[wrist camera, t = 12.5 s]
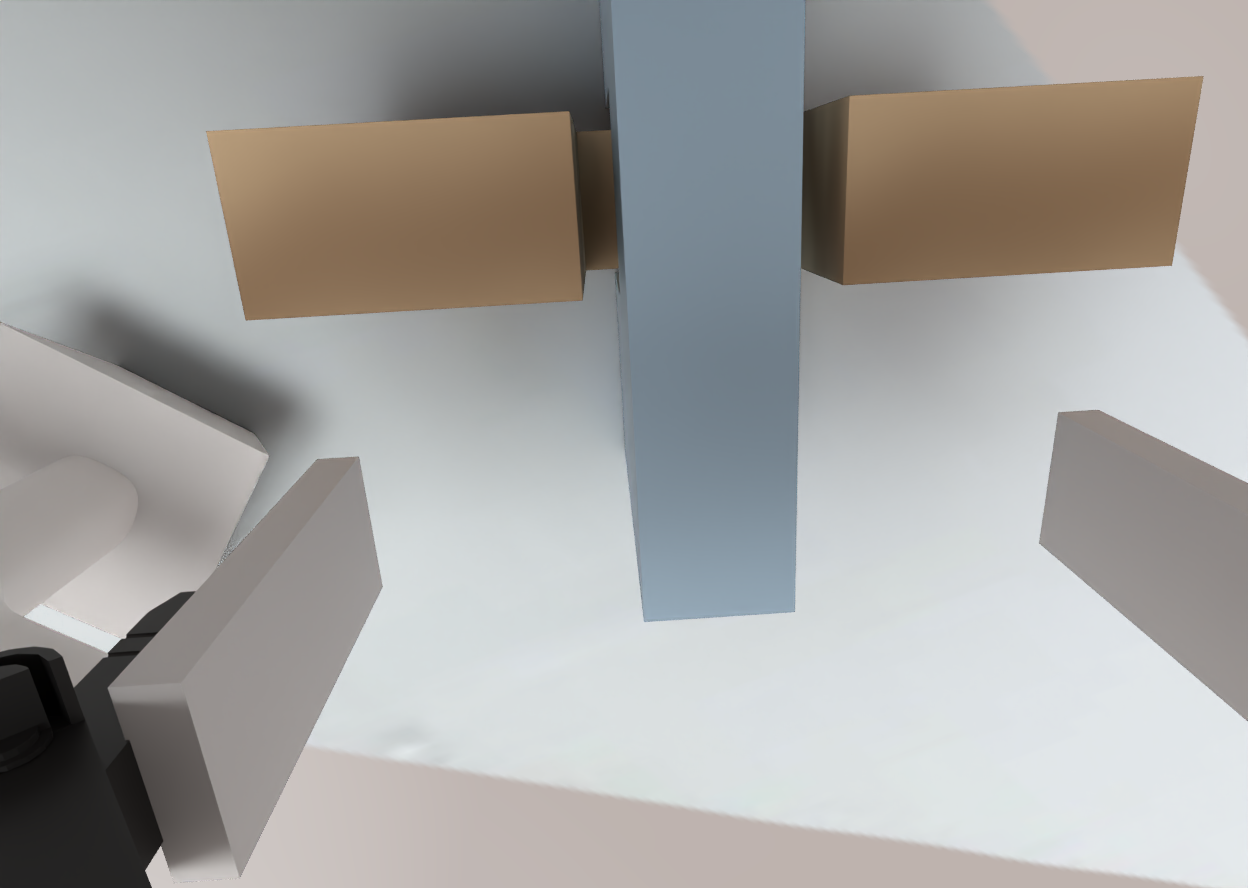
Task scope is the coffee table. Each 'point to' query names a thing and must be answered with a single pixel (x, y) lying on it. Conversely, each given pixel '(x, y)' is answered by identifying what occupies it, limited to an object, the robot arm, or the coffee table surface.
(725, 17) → the blue bridge block
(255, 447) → the figurine
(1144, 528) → the robot arm
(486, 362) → the coffee table surface
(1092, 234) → the wooden block stack
